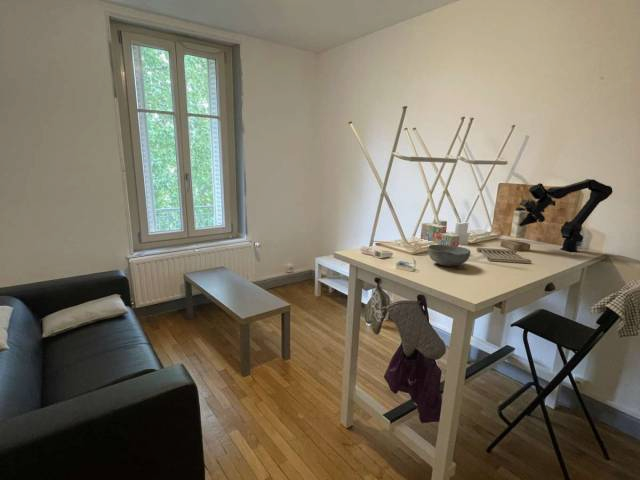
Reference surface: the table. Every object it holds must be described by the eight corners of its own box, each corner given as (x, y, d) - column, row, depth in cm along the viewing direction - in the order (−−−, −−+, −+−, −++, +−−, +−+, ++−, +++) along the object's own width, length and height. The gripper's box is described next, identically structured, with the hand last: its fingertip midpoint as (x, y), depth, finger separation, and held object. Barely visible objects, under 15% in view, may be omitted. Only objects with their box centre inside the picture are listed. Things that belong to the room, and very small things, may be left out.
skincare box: (445, 241, 198) (447, 221, 196) (439, 242, 197) (441, 221, 194) (437, 239, 204) (440, 219, 201) (432, 239, 203) (434, 219, 200)
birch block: (519, 235, 188) (523, 210, 185) (524, 237, 183) (528, 212, 180) (510, 235, 188) (514, 210, 185) (515, 237, 183) (519, 212, 180)
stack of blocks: (457, 253, 174) (460, 229, 171) (448, 254, 171) (452, 230, 168) (427, 243, 193) (430, 222, 190) (419, 244, 190) (421, 223, 187)
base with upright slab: (463, 245, 191) (465, 224, 188) (448, 242, 197) (450, 222, 195) (470, 243, 196) (473, 223, 193) (456, 240, 203) (458, 220, 200)
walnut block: (515, 246, 194) (516, 240, 193) (529, 251, 184) (530, 244, 183) (500, 247, 192) (501, 240, 191) (513, 251, 182) (514, 244, 182)
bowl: (465, 261, 158) (467, 245, 157) (471, 273, 142) (473, 254, 140) (425, 257, 163) (427, 241, 161) (426, 268, 146) (428, 250, 145)
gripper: (521, 192, 190) (499, 211, 192) (543, 196, 171) (518, 217, 174) (532, 207, 192) (510, 225, 194) (555, 212, 173) (530, 232, 176)
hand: (517, 224), depth 184 cm, fingers closed on birch block, 5 cm apart
